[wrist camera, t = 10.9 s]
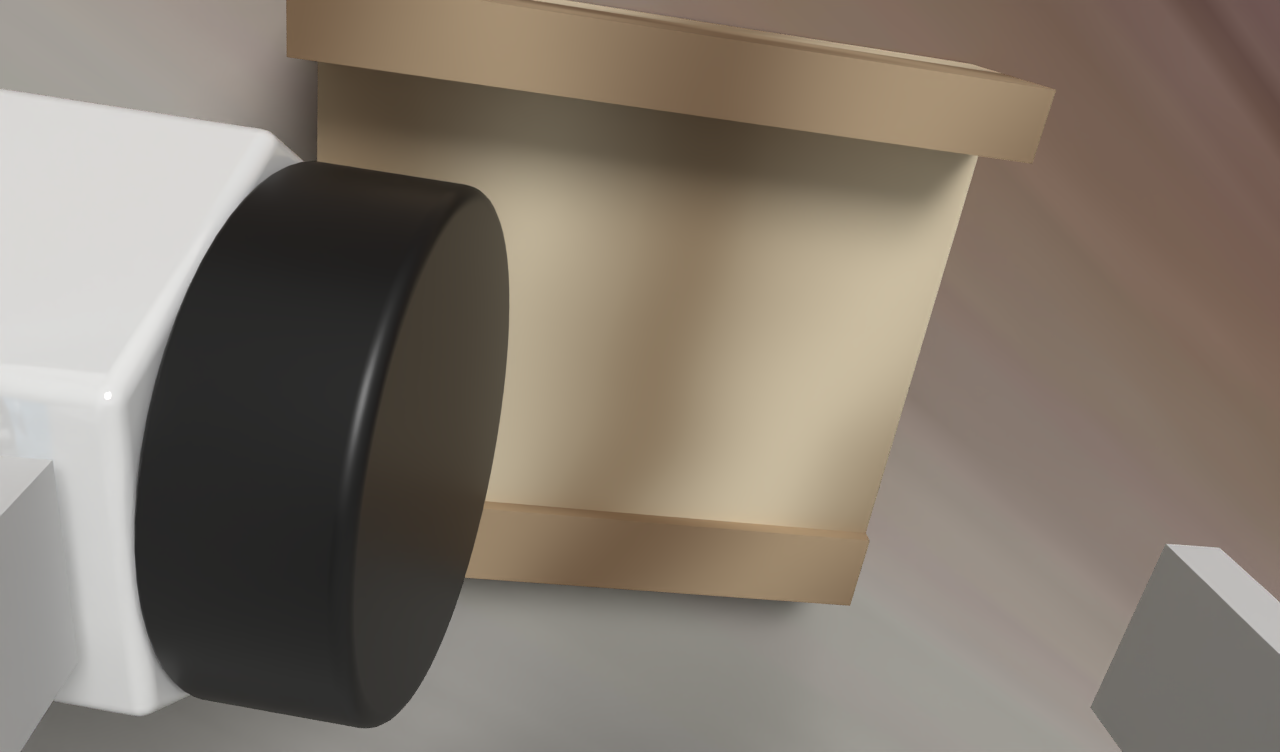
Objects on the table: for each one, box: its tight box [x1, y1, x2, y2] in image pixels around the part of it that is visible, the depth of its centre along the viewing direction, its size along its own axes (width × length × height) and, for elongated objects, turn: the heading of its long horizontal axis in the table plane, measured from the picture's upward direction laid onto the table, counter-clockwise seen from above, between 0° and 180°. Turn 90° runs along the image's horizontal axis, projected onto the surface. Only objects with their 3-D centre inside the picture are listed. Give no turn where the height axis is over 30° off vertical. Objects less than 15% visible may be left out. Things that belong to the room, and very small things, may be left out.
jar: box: [0, 88, 509, 728], centre depth 14 cm, size 9×8×12 cm
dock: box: [286, 0, 1056, 606], centre depth 18 cm, size 12×12×4 cm
